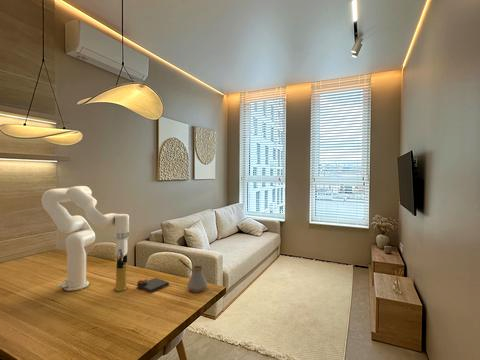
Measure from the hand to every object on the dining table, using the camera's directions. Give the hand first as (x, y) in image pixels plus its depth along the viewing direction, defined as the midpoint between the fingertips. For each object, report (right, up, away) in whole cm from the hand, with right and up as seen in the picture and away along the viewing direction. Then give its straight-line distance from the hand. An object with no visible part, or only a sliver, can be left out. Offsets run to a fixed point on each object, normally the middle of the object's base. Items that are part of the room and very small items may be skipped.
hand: (122, 265), depth 151 cm
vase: (-1, -14, 0) cm, 14 cm away
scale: (+16, -14, +4) cm, 22 cm away
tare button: (+11, -11, +3) cm, 15 cm away
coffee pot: (+39, -15, +4) cm, 42 cm away
